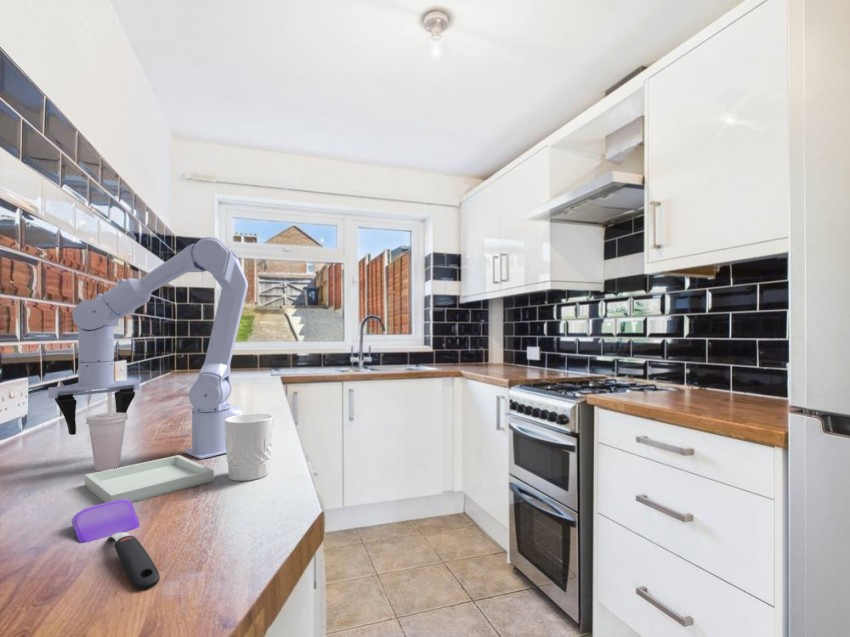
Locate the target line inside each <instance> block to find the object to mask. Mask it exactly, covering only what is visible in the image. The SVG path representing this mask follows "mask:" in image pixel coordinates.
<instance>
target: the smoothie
mask: <svg viewBox="0 0 850 637" xmlns="http://www.w3.org/2000/svg"><path fill="white" fill-rule="evenodd" d="M107 394H108V395H107V396H108V397H107V406H108V407H107V408H108V409H107V411H108V412H107V413H101V414H94V415H90V416H88V417H86V421H85V424H86V425H88V431H89V436H90V443H91V451H92V457H93V464H94V470H95V471H96V472H100V471H105V470H109V469H113V468H116V467H117V468H119V467H120V463H121V457H122V451H123V450H122V449H123V444H124V443H123V442H124V435H125V430H126V422H127V420H128V419H129V418H128V417H129V416H128V413H127V412H126V413H116V412H113V408H112V407H113V406H112V404H113V400H112V399H113V396H112V395H113V392H107ZM118 466H119V467H118Z"/></svg>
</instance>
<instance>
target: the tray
mask: <svg viewBox="0 0 850 637" xmlns="http://www.w3.org/2000/svg"><path fill="white" fill-rule="evenodd" d="M214 474H215V471H214V469H212V468H210V467H208V466H205V465H203V464H200V463H198V462H196V461H194V460H191V459H189V458H187V457H184V456H183V455H180V454H178V455H177V454H176V455H173V456H172V455H171V456H167V457H164V458H158V459H153V460H149V461H144V462H139V463H135V464H129V465H125V466H121V467H120V466H119V467H117V468H115V469H110V470H105V471H96V472H92V473H87V474H85V475H84V486H85V487H86V489H88V490H89V491H90V492H92V493H93V495H95V496H96V497H97V498H99V499H100V500H101V501H102V502H103V503H107V502H111V501H115V500H120V499H128V500H130V501H131V502H132V504H133V503H137V502H141V501H144V500H147V499H151V498H155V497H159V496H163V495H166V494H170V493H174V492H177V491H181V490H185V489H189V488H193V487H197V486H200V485H205V484H208V483H210V482H214V480H215V476H214Z"/></svg>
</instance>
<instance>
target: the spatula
mask: <svg viewBox="0 0 850 637" xmlns="http://www.w3.org/2000/svg"><path fill="white" fill-rule="evenodd" d="M138 518H139V517H138V515H137V512H136V511H135V507H134V504H133V503H132V502H131V501H130V500H128V499H120V500H115V501H111V502H107V503H105V502H103V503H99V504H96V505H91V506H90V507H87V508H86V507H85V508H83V509H82V510H80V511H79V512H77V513H75V515H74V516H73V517H72V518H71V524H72V527H73V530H74V534H75V536H76V539H77V542H78V543H80V544H85V543H90V542H94V541H97V540H98V541H99V540H101V539H104V538H107V539H106V541H110V540H113V541H115V543H114V544H113V547H114V549H115V551H116V554H117V556H118V558H119V561H120V564H121V566H122V568H123V570H124V572H125V575H126V577H127V578H128V580H129V582H130V583H131V585H132V587H134V588H135V589H137V590H140V589H145V590H148V589H147V588H149V589H151V588H150V587H152V586H153V587H155V586H156V585H157V584H158V583H159V582H160V579H161V577H160V573H159V571H158V568H157V567H156V565H155V563H154V561H153V560H152V558H151V557H150V555H149V554H148V552H147V551H146V549H145V548H144V546H143V545H142V544H141V542H140V541H139V540H138V538H137V537H136V536H134V535H130V534H129V531H133V530H135V529H138V528H140V522H139V519H138ZM155 584H156V585H155ZM154 585H155V586H154ZM153 587H152V588H153Z"/></svg>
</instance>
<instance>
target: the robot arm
mask: <svg viewBox="0 0 850 637" xmlns="http://www.w3.org/2000/svg"><path fill="white" fill-rule="evenodd" d="M205 270H206V271H207V272H208V273H210V274H211V275H212V277H213V278H214V279H215V281H216V282H217V284H218V285H219V286H220V287H221V291H220V294H219V299H218V303H217V308H216V311H215V316H214V320H213V325H212V330H211V333H210V337H209V342H208V346H207V350H206V355H205V359H204V362H203V364H202V367H200V371H199V372H198V377H197V379H196V381H195V382H194V384H193V385H192V386H191V387H190V389H189V391H188V392H189V393H188V399H189V403H190V404H191V406H193V407H192V408H191V448H187V449H184V451H183V452H184V454H187V455H190V456H191V457H194V458H197V459H199V460H201V459H206V458H210V457H217V456H220V455H224V454H226V438H225V419H226V418H229V417H232V416H237V415H244V413H243V412H242V410H241V408H240V407H238V406H236V405H235V406H234V405H233V406H231V404H230V403H229V401H228V399H229V397H230V396H231V393H232V385H231V381H230V376H231V374H232V371H231V361H232V358H233V354H234V349H235V345H236V340H237V336H238V332H239V328H240V327H239V326H240V323H241V318H242V314H243V311H244V310H243V309H244V307H245V306H244V305H245V301H246V297H247V293H248V288H249V283H248V282H249V281H248V279H247V277H246V275H245V272H244V269H243V268H242V265H241V262H240V259H239V257H238V256H237V255H236V254H235V253H234V252H233V251H232V250H231V249H230V248H229V247H228V246H226V245H225V244H224V242H222V241H221V240H219V239H218V238H215V237H203V238H201V239H198V241H196V243H192V244H189V245H186V247H184V248H183V249H182V250H181V251H179V252H178V253H177V254H175V255H174V256H172V257H171V258H169V259H167V260H166V261H164V262H163V263H162V264H160V265H159V266H157V267H156V268H154V269H152V270H151V271H150V272H148V273H147V274H145V275H144V276H142V277H141V278H140V279H138V278H133V277H129V278H127V279H125V278H120V279H118V280H117V281H116V284H117V285H115V286H114V287H112V288H110V289H108V290H106V292H104V293H97V294H96V295H94V297H95V299H83V300H81V301H80V302H79V303H78V304H77V305H76V306H75V307H74V308H73V311H72V315H71V316H72V321H73V323H74V324H75V325H76V326H77V327H78V340H77V341H78V346H77V347H78V350H77V352H78V353H77V354H78V356H77V357H78V358H77V359H78V362H77V364H78V366H77V368H78V370H77V371H78V380H77V382H78V384H69V385H62V386H61V385H60V386H52V387H48V394H47V395H48V398H49V399H54V402H55V403H56V404H57V406H58V407H59V410H61V412H62V413H61V414H63V417H64V421H65V422H66V423H65V424H66V425H67V429H68V430H67V431H68V434H69V435H71V436H73V435H76V434H77V423H76V422H77V421H76V414H77V412H76V410H77V402H78V401H77V399H76V398H75V397H76V396H85V395H86V396H87V395H95V394H104V393H109V392H112V393H113V392H114V402H115V413H127V412H128V409H129V407H130V406H131V403H132V402H133V400H134V398H135V396H136V391H137V390H138V391H139V390H140V387H141V386H140V384H141V383H140V380H138V379H132V380H131V379H129V380H116V381H115V337H114V336H115V334H114V331H115V330H114V329H115V327H116V326H117V325H118V324H119V321H120V319H123V318H124V317H126V316H127V315H129V314H130V313H132V312H134V311H136V310H137V309H139V308H140V307H142V306H143V305H145V304H147V303H149V302H150V299H151V295H152V293H153V292H155V291H156V290H159V288H161V287H163V286H165V285H168V284H169V283H171V282H173V281H174V280H177V279H178V278H180V277H181V276H183V275H185V274H187V273H205V272H206V271H205Z"/></svg>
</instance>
